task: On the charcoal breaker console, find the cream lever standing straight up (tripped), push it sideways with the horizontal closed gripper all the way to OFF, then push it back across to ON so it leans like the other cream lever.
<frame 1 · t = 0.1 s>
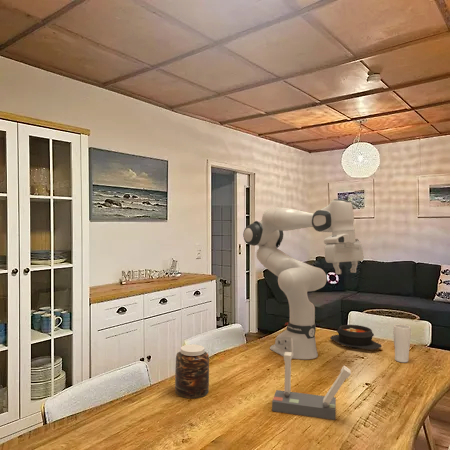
hand: (346, 273, 161), 39 cm above the table, tool pointing down, fingers open, 8 cm apart
jar: (191, 391, 139), on the table
tripped lever: (287, 374, 130), point 10 cm above the table, hinge at 0.0°
drinking glass: (401, 361, 173), on the table
breaker console: (304, 408, 127), on the table
casserole: (355, 346, 195), on the table
on lever: (335, 387, 122), point 9 cm above the table, hinge at -30.0°
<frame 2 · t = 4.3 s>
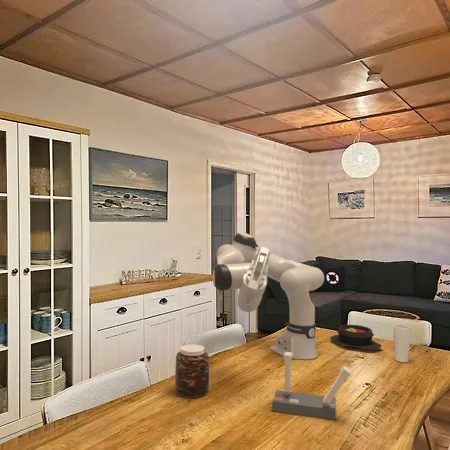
hand: (261, 258, 134), 46 cm above the table, tool pointing upward, fingers closed
nothing on the table moved.
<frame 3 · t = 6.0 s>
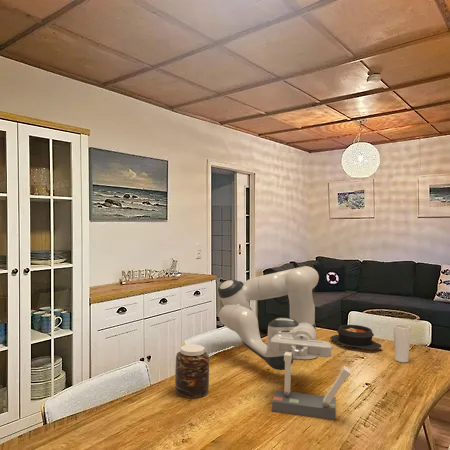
hand: (298, 353, 128), 17 cm above the table, tool horizontal, fingers closed
tripped lever: (287, 374, 130), point 10 cm above the table, hinge at -0.1°, touching gripper
everything else where it was.
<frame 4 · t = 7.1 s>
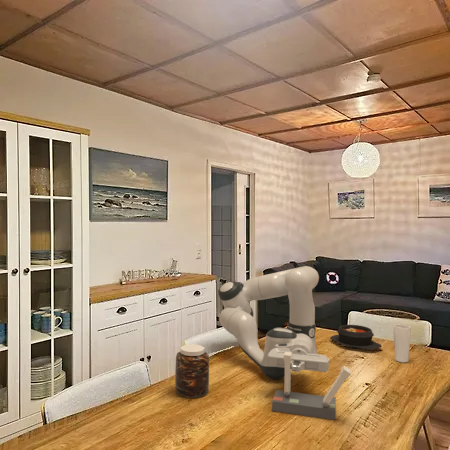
hand: (295, 369, 128), 12 cm above the table, tool horizontal, fingers closed
tripped lever: (287, 374, 130), point 10 cm above the table, hinge at 0.4°, touching gripper
everything else where it was.
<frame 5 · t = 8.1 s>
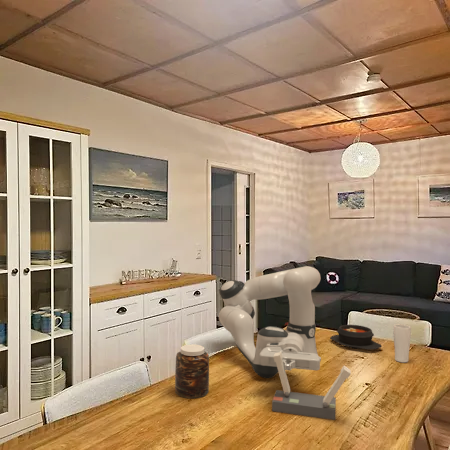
hand: (287, 367, 129), 12 cm above the table, tool horizontal, fingers closed
tripped lever: (282, 374, 130), point 10 cm above the table, hinge at 16.3°, touching gripper
everything else where it was.
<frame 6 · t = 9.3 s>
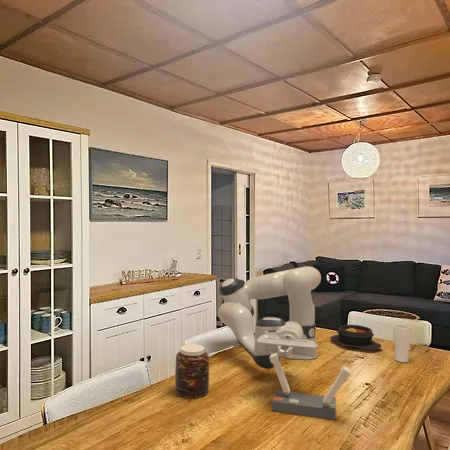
hand: (283, 353, 129), 17 cm above the table, tool horizontal, fingers closed
tripped lever: (280, 374, 130), point 9 cm above the table, hinge at 22.5°
everything else where it was.
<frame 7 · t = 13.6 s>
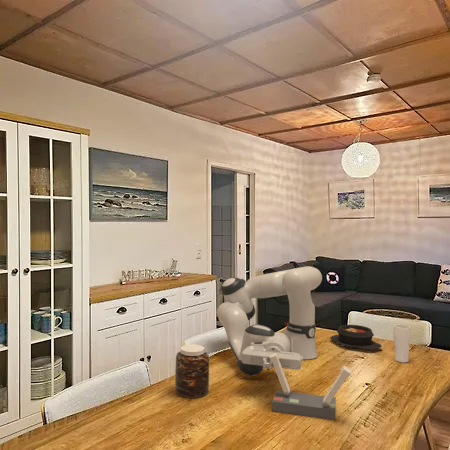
hand: (267, 366, 130), 12 cm above the table, tool horizontal, fingers closed
tripped lever: (280, 374, 130), point 9 cm above the table, hinge at 22.3°, touching gripper
everything else where it was.
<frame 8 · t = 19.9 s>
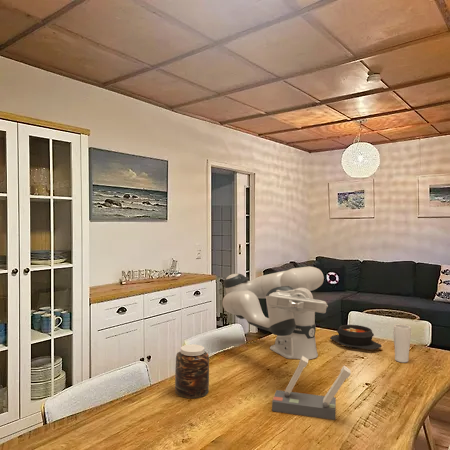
hand: (294, 305, 134), 31 cm above the table, tool horizontal, fingers closed
tripped lever: (295, 376, 129), point 9 cm above the table, hinge at -25.8°
everything else where it was.
at the end: tripped lever at -26° (first picture: +0°); on lever at -30° (first picture: -30°) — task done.
